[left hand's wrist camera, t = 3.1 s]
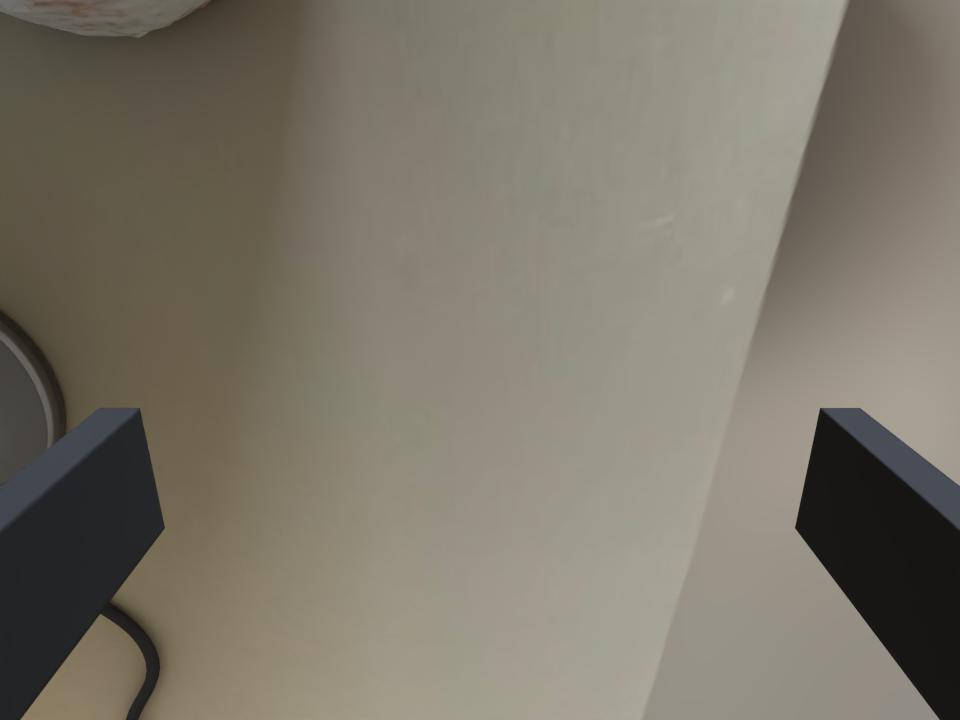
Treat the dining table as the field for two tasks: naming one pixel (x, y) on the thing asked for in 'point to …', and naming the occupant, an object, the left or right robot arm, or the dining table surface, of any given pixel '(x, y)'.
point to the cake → (102, 14)
